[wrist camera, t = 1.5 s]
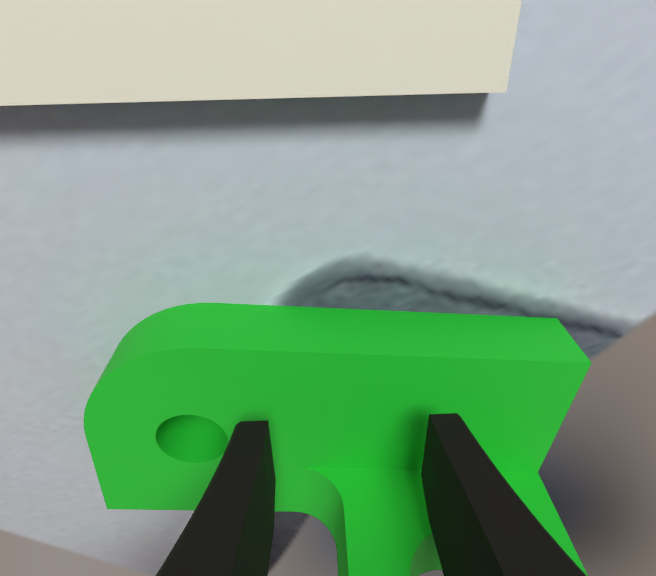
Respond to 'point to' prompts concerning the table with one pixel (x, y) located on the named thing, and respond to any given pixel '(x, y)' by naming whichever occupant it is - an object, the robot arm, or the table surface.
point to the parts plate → (251, 49)
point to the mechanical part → (332, 413)
